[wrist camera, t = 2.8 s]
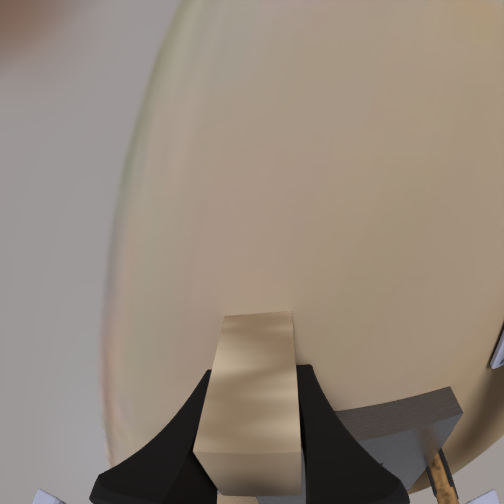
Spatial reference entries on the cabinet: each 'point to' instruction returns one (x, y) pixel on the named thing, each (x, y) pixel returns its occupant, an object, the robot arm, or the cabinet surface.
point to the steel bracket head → (395, 436)
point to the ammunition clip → (442, 480)
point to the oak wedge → (252, 409)
